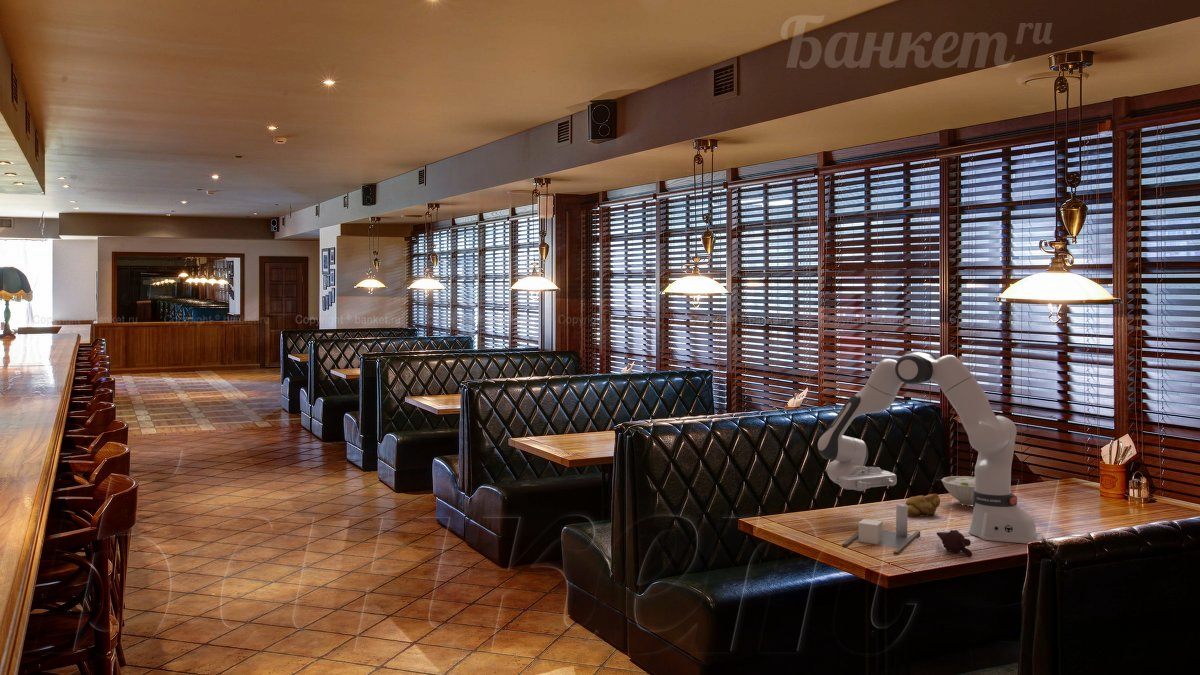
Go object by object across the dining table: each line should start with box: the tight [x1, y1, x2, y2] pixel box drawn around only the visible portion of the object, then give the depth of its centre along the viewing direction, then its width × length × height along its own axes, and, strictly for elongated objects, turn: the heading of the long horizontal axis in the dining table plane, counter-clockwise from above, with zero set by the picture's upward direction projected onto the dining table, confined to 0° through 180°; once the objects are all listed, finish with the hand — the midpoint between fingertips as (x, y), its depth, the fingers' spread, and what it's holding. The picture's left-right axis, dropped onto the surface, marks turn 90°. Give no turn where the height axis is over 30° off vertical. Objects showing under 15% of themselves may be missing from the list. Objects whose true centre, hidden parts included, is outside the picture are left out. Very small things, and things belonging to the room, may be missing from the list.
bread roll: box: [905, 493, 941, 517], centre depth 329 cm, size 13×10×8 cm
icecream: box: [935, 529, 973, 558], centre depth 282 cm, size 7×7×15 cm
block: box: [858, 518, 884, 545], centre depth 291 cm, size 6×6×6 cm
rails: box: [841, 530, 921, 556], centre depth 292 cm, size 17×28×2 cm, turn 147°
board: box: [854, 503, 912, 549], centre depth 293 cm, size 14×18×11 cm
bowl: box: [941, 475, 975, 505], centre depth 343 cm, size 19×19×10 cm
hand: (880, 484), depth 309 cm, fingers open, 8 cm apart
